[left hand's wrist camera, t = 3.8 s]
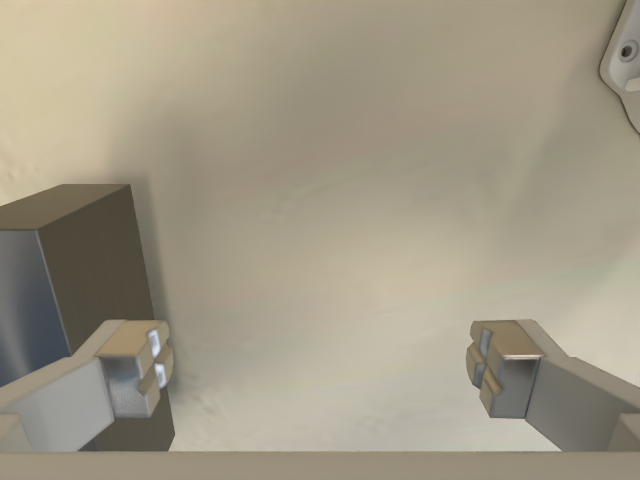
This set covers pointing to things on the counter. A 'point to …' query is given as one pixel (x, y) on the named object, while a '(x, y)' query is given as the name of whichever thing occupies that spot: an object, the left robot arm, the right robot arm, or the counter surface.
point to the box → (74, 290)
